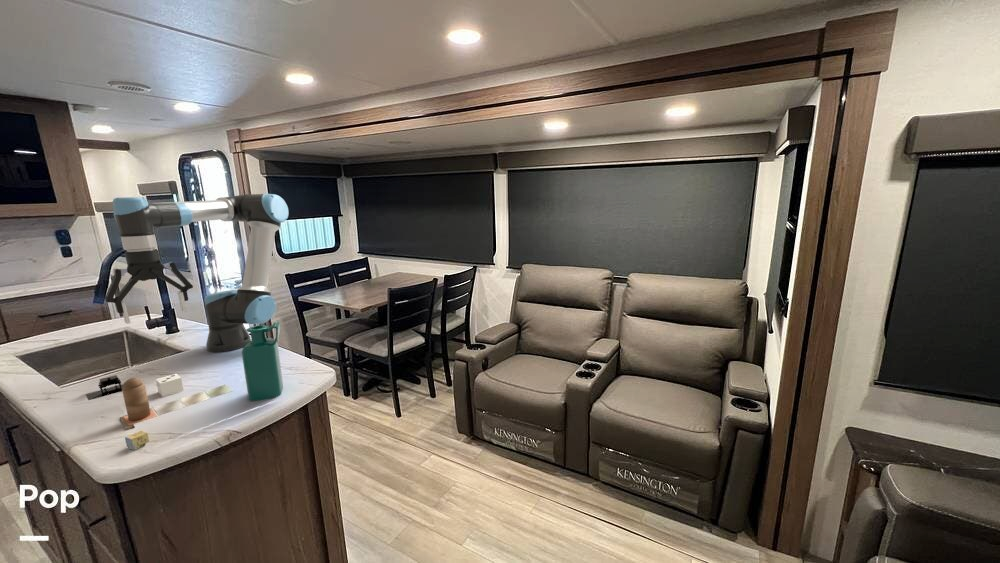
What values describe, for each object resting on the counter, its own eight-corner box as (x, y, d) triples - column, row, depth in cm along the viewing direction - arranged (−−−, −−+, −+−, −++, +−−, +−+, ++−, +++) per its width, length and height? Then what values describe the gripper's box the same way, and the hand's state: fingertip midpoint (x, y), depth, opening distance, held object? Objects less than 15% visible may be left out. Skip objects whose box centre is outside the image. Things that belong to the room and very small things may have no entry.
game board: (226, 384, 122) (226, 382, 122) (237, 392, 117) (236, 390, 117) (119, 418, 103) (119, 416, 103) (126, 429, 98) (125, 427, 98)
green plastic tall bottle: (247, 404, 110) (236, 332, 106) (253, 391, 118) (243, 324, 113) (285, 397, 114) (276, 327, 109) (288, 385, 121) (280, 320, 117)
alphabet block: (126, 448, 90) (124, 436, 90) (143, 440, 93) (140, 429, 93) (133, 451, 89) (131, 439, 89) (149, 443, 92) (147, 432, 91)
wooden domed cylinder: (148, 410, 106) (141, 373, 104) (152, 415, 103) (144, 377, 101) (127, 417, 102) (118, 378, 100) (130, 422, 100) (121, 383, 98)
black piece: (82, 404, 112) (78, 389, 111) (79, 396, 117) (76, 382, 116) (142, 388, 122) (139, 374, 121) (137, 381, 127) (135, 368, 126)
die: (179, 388, 121) (176, 373, 120) (183, 392, 118) (181, 377, 117) (158, 394, 117) (155, 379, 116) (163, 399, 114) (159, 383, 113)
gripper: (188, 244, 125) (201, 305, 130) (78, 254, 105) (98, 325, 110) (196, 245, 121) (209, 308, 126) (83, 256, 101) (103, 330, 106)
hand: (157, 316), depth 118 cm, fingers open, 13 cm apart
